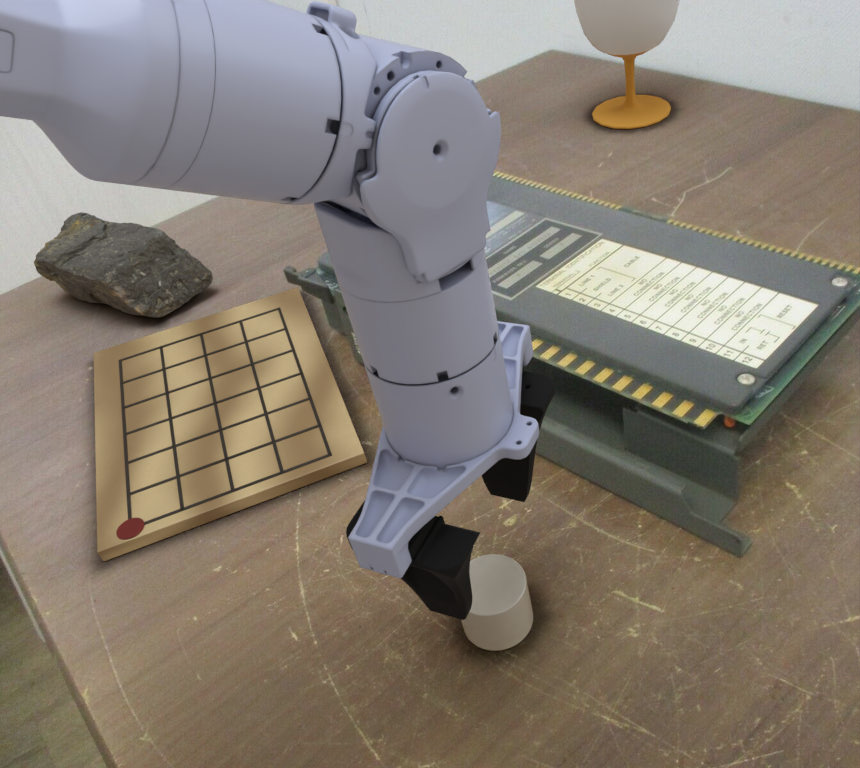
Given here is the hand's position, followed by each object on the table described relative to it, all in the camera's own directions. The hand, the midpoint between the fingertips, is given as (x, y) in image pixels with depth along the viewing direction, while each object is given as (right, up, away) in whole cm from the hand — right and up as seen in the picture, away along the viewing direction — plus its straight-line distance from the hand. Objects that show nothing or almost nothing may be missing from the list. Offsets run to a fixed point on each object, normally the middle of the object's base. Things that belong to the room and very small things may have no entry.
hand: (481, 548), depth 43 cm
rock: (-34, +17, +36) cm, 53 cm away
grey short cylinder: (+1, -5, +4) cm, 6 cm away
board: (-21, +7, +22) cm, 31 cm away
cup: (+15, +40, +54) cm, 68 cm away
